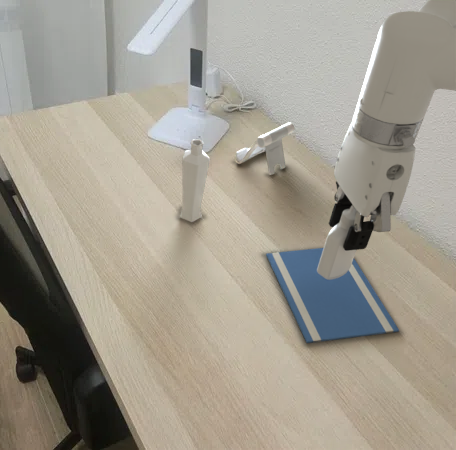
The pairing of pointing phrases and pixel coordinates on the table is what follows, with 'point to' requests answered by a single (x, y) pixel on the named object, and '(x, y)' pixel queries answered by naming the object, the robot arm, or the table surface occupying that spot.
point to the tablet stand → (268, 147)
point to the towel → (329, 298)
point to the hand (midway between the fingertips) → (346, 235)
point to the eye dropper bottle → (337, 248)
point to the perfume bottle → (193, 180)
